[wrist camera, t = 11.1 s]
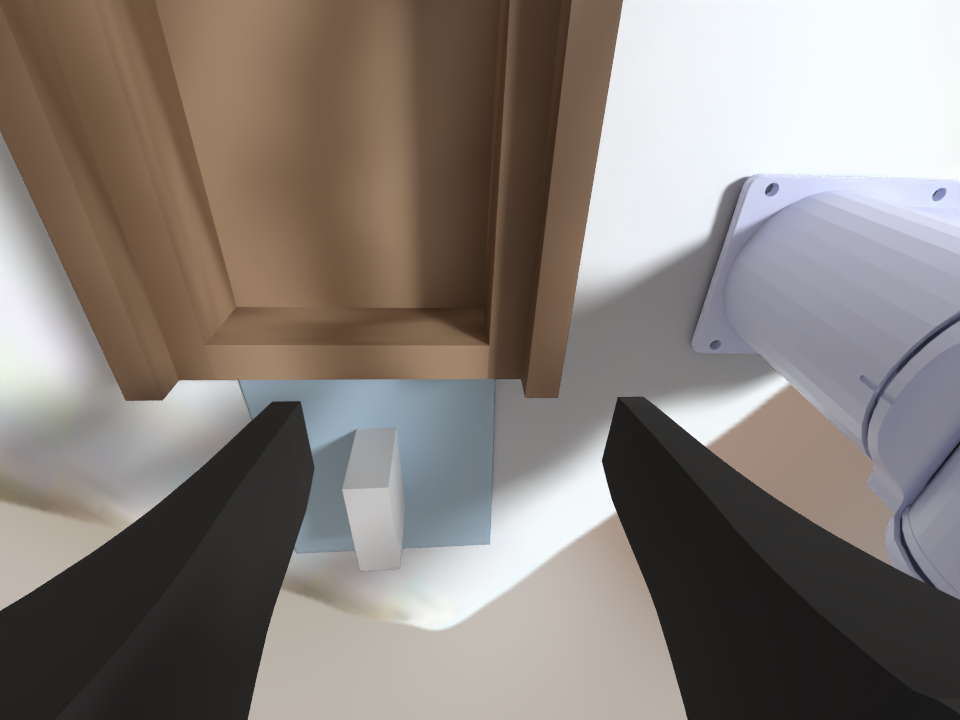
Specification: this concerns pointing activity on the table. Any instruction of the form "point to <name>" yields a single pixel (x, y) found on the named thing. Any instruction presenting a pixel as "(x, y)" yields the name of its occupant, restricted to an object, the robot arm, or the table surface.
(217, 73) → the walnut box
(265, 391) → the cover plate
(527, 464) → the table surface
